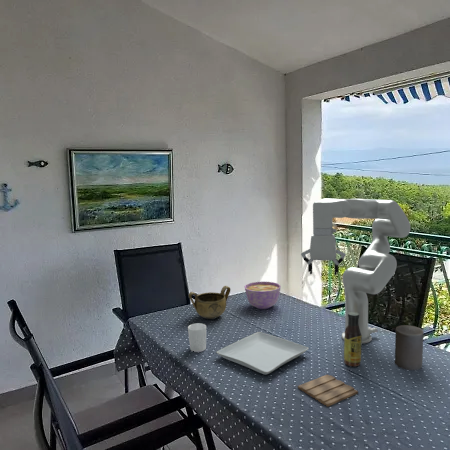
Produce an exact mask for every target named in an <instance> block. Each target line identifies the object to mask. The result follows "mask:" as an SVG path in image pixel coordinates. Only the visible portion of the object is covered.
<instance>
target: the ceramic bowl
mask: <svg viewBox="0 0 450 450" xmlns="http://www.w3.org/2000/svg"><path fill="white" fill-rule="evenodd" d="M230 294H231V287H230V286H228V285H224V286H223V287H222V288H221V290H220V292H212V291H211V292H203V293H199V294H196V293H195V292H193V291H190V292H189V293H188V298H189V300H190V302H191V304H192V306H193V307H194V309H195V311H196V313H197V314H198V315H199V316H200V317H202V318H204V319H207V320H208V319H209V320H214V319H216V318H219V317H220V316H222V315H223V314H224V312H225V311H226V308H227V301H228V298H229V295H230ZM193 295H194V299H193V297H192V296H193Z"/></svg>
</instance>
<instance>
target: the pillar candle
mask: <svg viewBox="0 0 450 450" xmlns="http://www.w3.org/2000/svg"><path fill="white" fill-rule="evenodd" d="M424 332H425V331H424V330H423V329H422V328H421V327H417V326H415V325H408V324H406V325H405V324H403V325H398V326H396V328H395V335H394V337H395V338H394V339H395V342H394V343H395V344H394V347H395V349H394V351H395V352H394V364H395V366H397V367H398V368H401V369H403V370H407V371H419V370H422V368H423V355H424V354H423V353H424Z"/></svg>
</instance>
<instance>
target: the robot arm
mask: <svg viewBox="0 0 450 450" xmlns="http://www.w3.org/2000/svg"><path fill="white" fill-rule="evenodd" d="M336 218H337V219H343V218H346V219H347V218H349V219H358V220H363V219H364V220H365V219H366V220H367V219H368V220H369V219H371V220H372V219H373V222H372V225H371V229H372V233H371V234H372V240H371V241H372V242H371V243H370V244H369V246H368V247H367V249H366V250H365V251H364V252H363V254H362V255H361V256H360V258H359V259H358V264H357V265H358V267H356V266H355V267H352V266H351V267H348V268H347V269H345V270H344V272H343V274H342V284H343V288H344V303H345V304H344V306H345V307H344V310H345V311H344V313H345V314H344V316H345V317H344V322H345V323H344V325H345V328H344V329H346V328H347V326H348V313H350V312H355V313H358V314H359V321H358V323H359V329H360V332H361V335H362V340H361V345H362V344H368V343H370V342H371V341H372V338H373V337H372V334H374V333H378V328H377V327H373V328H372V327H371V326H369V299H368V295H367V294H369V295H377V294H379V293H380V292H382V291H383V290H384V288H385V286H386V285H387V284H388V282H390V280H391V279H392V277H393V275H394V274H395V272H396V270H397V267H398V266H397V259H396V257H395V256H394V255H392V254H390V251H391V245H390V243H389V240H388V237H392V238H400V239H402V238H406V237H407V236H408V235H410V232H411V223H410V221H409V219H408V217H407V215H406V213H405V211H404V210H403V209H402V207H401V206H400V204H399V203H398V202H396V201H395V200H393V199H372V198H371V199H369V198H340V199H339V198H322V199H320V200H316V201H314V202H313V203H312V234H311V237H310V245H309V246H310V247H309V248H308V249H306V250H304V251H302V252H301V254H300V256H301V257H302V258H303V261H304V262H305V263H306V264H307V265H308V266H307V268H308V269H307V270H308V271H307V272H309V275H312V274H313V262H314V261H332V262H333V264H334V275H335V276H337V274H338V273H339V265H340V264H342V262H343V261H344V259H345V257H346V253H345V252H343V251H341V250H339V249H337V242H336V236H335V234H334V233H337V229H336V228H333V226H334V225H333V219H336ZM307 254H309V257H310V258H308V257H307ZM337 254H338V255H340V257H339V259H337ZM341 339H342V340H343V341H344V339H345V331H343V332H342V333H341Z"/></svg>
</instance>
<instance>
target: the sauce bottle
mask: <svg viewBox="0 0 450 450" xmlns="http://www.w3.org/2000/svg"><path fill="white" fill-rule="evenodd" d="M358 321H359V314H358V313H355V312H350V313H348V326H347V328H346V329H345V328H344V329H345V330H344V332H345V339H344V340H343V342H344V344H343V348H344V349H343V360H344V361H343V362H344V364H345V365H347V366H348V367H358V366H360V365H361V361H362V344H361V340H362V335H361V332H360V329H359V323H358Z"/></svg>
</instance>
